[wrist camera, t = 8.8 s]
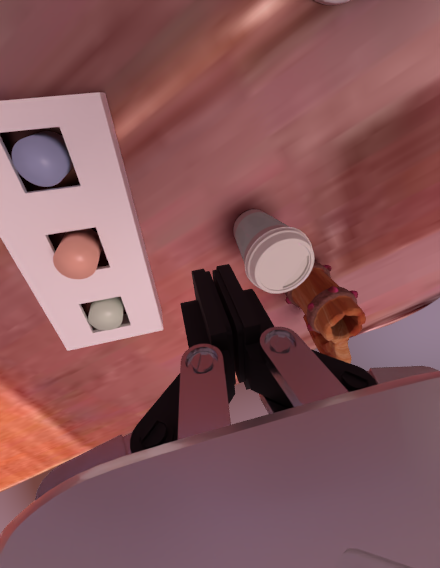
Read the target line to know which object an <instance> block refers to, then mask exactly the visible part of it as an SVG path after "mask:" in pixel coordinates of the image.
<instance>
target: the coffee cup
mask: <svg viewBox="0 0 440 568" xmlns="http://www.w3.org/2000/svg"><path fill="white" fill-rule="evenodd" d="M233 233H234V236H235V239H236V242H237V245H238V247H239V250H240V253H241V255H242V258H243V261H244V263H245V271H246V274H247V277H248V278H249V280H250V281H251V282H252V283H253V284H254V285H255V286H257V287H258V288H260V289H262V290H264V291H266V292H269V293H275V294H278V293H284V292H288V291H290V290H292V289H294V288H296V287H298V286H299V285H300V284H301V283H302V282H304V281H305V279H306V278H307V277H308V276H309V274H310V272H311V270H312V268H313V265H314V252H313V249H312V245H311V242H310V241H309V239H308V237H307V236H306V235H305V234H304V233H303V232H302V231H300V230H299V229H296V228H293V227H289V226H287V225H285V224H284V223H282V222H280V221H278V220H277V219H275V218H273V217H272V216H270V215H268V214H266V213H265V212H263V211H261V210H257V209H252V210H248V211H246V212H244V213H242V214H241V215H240V216H239V217H238V218H237V220H236V222H235V224H234V228H233Z"/></svg>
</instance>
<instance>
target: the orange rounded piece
mask: <svg viewBox="0 0 440 568" xmlns="http://www.w3.org/2000/svg"><path fill="white" fill-rule="evenodd" d="M101 249H102V243H101V240H100V238H99V235H98V234H97V233H96V232H95V231H93V230H92V229H90V228H88V229H81V230H75V231H69V232H66V233H65V235H64V237H63V239H62V241H61V242H60V244H59V246H58V248H57V250H56V252H55V254H54V256H53V263H54V266H55V268H56V269H57V270H58V271H59V272H60V273H61V274H62V275H64V276H66V277H68V278H71V279H85V278H88V277H90V276H91V275H93V274H94V272H95V271H96V269H97V265H98V261H99V257H100V253H101Z"/></svg>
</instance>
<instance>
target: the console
mask: <svg viewBox="0 0 440 568" xmlns="http://www.w3.org/2000/svg"><path fill="white" fill-rule="evenodd" d="M51 127H60V130H61V132H62V135H63V138H64V141H65V143H66V146H67V149H68V152H69V155H70V157H71V160H72V163H73V166H74V168H75V171H76V174H77V177H78V179H79V182H80V185H75V186H67V187H60V188H52V189H45V190H37V191H30V192H27V191H26V189H25V187H24V184H23V182H22V180H21V178H20V176H19V174H18V172H17V170H16V168H15V166H14V164H13V162H12V159H11V157H10V155H9V153H8V151H7V149H6V147H5V145H4V143H3V141H2V139H1V136H0V237H1V239H2V241H3V242H4V244H5V246H6V248H7V249H8V251H9V253H10V254H11V256H12V258H13V259H14V261H15V263H16V264H17V266H18V268H19V270H20V271H21V273H22V275H23V276H24V278H25V280H26V281H27V283H28V285H29V286H30V288H31V290H32V291H33V293H34V295H35V297H36V298H37V300H38V302H39V303H40V305H41V307H42V308H43V310H44V312H45V313H46V315H47V317H48V319H49V320H50V322H51V324H52V325H53V327H54V329H55V330H56V332H57V334H58V335H59V337H60V339H61V340H62V342H63V344H64V346H65V347H66V349H67V351H69V350H73V349H78V348H83V347H87V346H92V345H96V344H101V343H106V342H110V341H115V340H120V339H124V338H129V337H133V336H138V335H143V334H147V333H152V332H156V331H161V330H163V320H162V310H161V306H160V302H159V298H158V294H157V290H156V286H155V283H154V279H153V275H152V271H151V267H150V263H149V260H148V256H147V252H146V248H145V244H144V240H143V236H142V233H141V229H140V225H139V221H138V217H137V213H136V209H135V206H134V202H133V198H132V194H131V190H130V186H129V182H128V179H127V175H126V171H125V167H124V163H123V159H122V156H121V152H120V148H119V144H118V140H117V136H116V132H115V129H114V125H113V121H112V117H111V113H110V109H109V105H108V102H107V98H106V94H105V93H103V92H97V93H85V94H74V95H62V96H50V97H39V98H27V99H15V100H4V101H0V133H2V132H12V131H22V130H32V129H42V128H51ZM94 227H96V229H97V232H98V235H99V238H100V240H101V243H102V246H103V249H104V252H105V254H106V257H107V260H108V263H109V265H108V266H102V267H97V269H96V271H95V272H94V274H93V275H91V276H90V277H88V278H85V279H71V278H68V277H66V276H64V275H62V274H61V273H60V272H59V271H58V270H57V269H56V268H55V266H54V263H53V256H54V254H55V252H56V251H55V249H54V247H53V245H52V243H51V241H50V239H49V237H48V235H49V234H56V233H62V232H69V231H75V230H81V229H88V228H94ZM119 296H121V299H122V301H123V304H124V307H125V310H126V313H127V314H123V320H122V323H121V324H120V325H119V326H118V327H117V328H115V329H112V330H99V329H96V328H94V327H93V326H92V325H91V324H90V323H89V320H88V318H87V316H86V314H85V312H84V310H83V308H82V306H81V304H83V303H88V302H93V301H99V300H104V299H109V298H114V297H119Z"/></svg>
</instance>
